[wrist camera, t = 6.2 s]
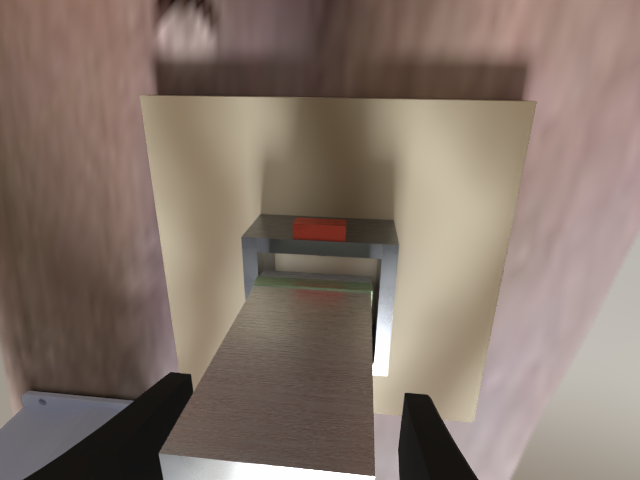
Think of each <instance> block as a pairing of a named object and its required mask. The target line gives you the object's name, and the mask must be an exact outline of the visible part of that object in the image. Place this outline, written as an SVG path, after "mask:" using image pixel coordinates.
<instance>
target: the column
mask: <svg viewBox="0 0 640 480" xmlns="http://www.w3.org/2000/svg"><path fill="white" fill-rule="evenodd" d="M372 292H373V288H372V283H371V276H355V275H338V274H321V273H304V272H287V271H270V270H263V271H262V273H261V275H260V276H257V278H256V280H255V281H254V283H253V289H252V290H251V292H250V294H249V296H248V297H247V299H246V301H245V303H244V304H243V306H242V308H241V310H240V311H239V313H238V315H237V317H236V319H235V320H234V322H233V324H232V326H231V327H230V329H229V331H228V333H227V334H226V336H225V338H224V340H223V341H222V343H221V345H220V347H219V348H218V350H217V352H216V354H215V355H214V357H213V359H212V361H211V362H210V364H209V366H208V368H207V369H206V371H205V373H204V375H203V376H202V378H201V380H200V382H199V383H198V385H197V387H196V389H195V390H194V392H193V394H192V396H191V397H190V399H189V401H188V403H187V404H186V406H185V408H184V410H183V411H182V413H181V415H180V417H179V418H178V420H177V422H176V424H175V425H174V427H173V429H172V431H171V432H170V434H169V436H168V438H167V440H166V441H165V443H164V445H163V447H162V448H161V450H160V452H159V459H160V464H161V469H162V475H163V480H375V457H374V410H373V363H372V316H371V307H372Z"/></svg>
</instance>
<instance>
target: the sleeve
mask: <svg viewBox="0 0 640 480" xmlns="http://www.w3.org/2000/svg"><path fill="white" fill-rule="evenodd" d="M241 242H242V258H243V273H244V289H245V301H246V299H247V297H248V296H249V294H250V292H251V290H252V289H253V283H254V281H255V280H256V278H257V276H260V275H261V273H262V271H263V270H270V271H275V253H280V254H299V255H317V256H335V257H353V258H372V259H377V274H376V288H375V302H374V316H373V324H372V363H373V375H377V376H387V375H388V364H389V353H390V342H391V331H392V320H393V309H394V298H395V287H396V276H397V265H398V254H399V241H398V237H397V232H396V227H395V222H394V220H383V219H361V218H338V217H316V216H294V215H272V214H260V215H259V217H258V218H257V219H256V220H255V221H254V222H253V224H252V225H251V226H250V227H249V228H248V230H247V231H246V232H245V233H244V234H243V235H242V237H241Z"/></svg>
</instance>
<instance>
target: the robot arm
mask: <svg viewBox="0 0 640 480" xmlns="http://www.w3.org/2000/svg"><path fill="white" fill-rule="evenodd" d="M192 394H193V385H192V377H191V374H186V373H174V372H170V373H169V374H168V375H166V376H165V377H164V378H162V379H161V380H160V381H158V382H157V383H156V384H155V385H153V386H152V387H151V388H150V389H148V390H147V391H146V392H145V393H143V394H142V395H141V396H140V397H138V398H137V399H136V400H135V401H132V400H121V399H111V398H100V397H90V396H79V395H69V394H59V393H48V392H38V391H27V392H25V393H24V394H23V395H22V397H21V401H22V404H23V407H24V408H22V409H21V410H20V411H19V412H18V413H17V414H16V415H15V416H14V417H13V418H12V419H11V420H9V421H8V422H7V423H6V424H5V425H4V426H3V427H2V428H1V429H0V480H163V475H162V469H161V464H160V459H159V452H160V450H161V448H162V447H163V445H164V443H165V441H166V440H167V438H168V436H169V434H170V432H171V431H172V429H173V427H174V425H175V424H176V422H177V420H178V418H179V417H180V415H181V413H182V411H183V410H184V408H185V406H186V404H187V403H188V401H189V399H190V397H191V396H192ZM398 454H399V476H400V480H478V478H477V477H476V475H475V474H474V472H473V471H472V469H471V468H470V466H469V464H468V463H467V461H466V460H465V458H464V456H463V455H462V453H461V452H460V450H459V448H458V447H457V445H456V443H455V442H454V440H453V438H452V436H451V435H450V433H449V431H448V429H447V428H446V426H445V424H444V422H443V420H442V418H441V417H440V415H439V413H438V411H437V409H436V407H435V405H434V403H433V401H432V399H431V397H430V396H429V395H427V394H415V393H405V394H404V403H403V412H402V421H401V430H400V439H399V448H398Z"/></svg>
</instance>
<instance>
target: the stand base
mask: <svg viewBox="0 0 640 480" xmlns="http://www.w3.org/2000/svg"><path fill="white" fill-rule="evenodd" d="M140 102H141V109H142V116H143V123H144V130H145V137H146V144H147V151H148V158H149V164H150V171H151V178H152V185H153V192H154V199H155V206H156V213H157V220H158V227H159V234H160V241H161V248H162V255H163V262H164V269H165V276H166V283H167V290H168V297H169V304H170V311H171V318H172V325H173V332H174V339H175V346H176V353H177V360H178V367H179V373H186V374H191V377H192V385H193V392H194V390H195V389H196V387H197V385H198V383H199V382H200V380H201V378H202V376H203V375H204V373H205V371H206V369H207V368H208V366H209V364H210V362H211V361H212V359H213V357H214V355H215V354H216V352H217V350H218V348H219V347H220V345H221V343H222V341H223V340H224V338H225V336H226V334H227V333H228V331H229V329H230V327H231V326H232V324H233V322H234V320H235V319H236V317H237V315H238V313H239V311H240V310H241V308H242V306H243V304H244V303H245V289H244V273H243V258H242V242H241V237H242V235H243V234H244V233H245V232H246V231H247V230H248V228H249V227H250V226H251V225H252V224H253V222H254V221H255V220H256V219H257V218H258V217H259V215H260V214H272V215H294V216H316V217H338V218H361V219H383V220H394V222H395V227H396V232H397V237H398V241H399V254H398V265H397V276H396V287H395V298H394V309H393V320H392V331H391V342H390V353H389V364H388V375H387V376H377V375H373V410H374V413H377V414H387V415H398V416H402V412H403V403H404V394H405V393H415V394H427V395H429V396H430V397H431V399H432V401H433V403H434V405H435V407H436V409H437V411H438V413H439V415H440V417H441V418H442V420H452V421H463V422H474V417H475V412H476V407H477V402H478V397H479V392H480V387H481V381H482V376H483V371H484V366H485V361H486V356H487V351H488V346H489V341H490V336H491V331H492V326H493V321H494V316H495V311H496V306H497V301H498V295H499V290H500V285H501V280H502V275H503V270H504V265H505V260H506V255H507V250H508V245H509V240H510V235H511V230H512V225H513V220H514V215H515V209H516V204H517V199H518V194H519V189H520V184H521V179H522V174H523V169H524V164H525V159H526V154H527V149H528V144H529V139H530V134H531V129H532V124H533V118H534V113H535V108H536V103H537V102H536V101H523V100H461V99H395V98H329V97H263V96H197V95H140ZM275 271H287V272H304V273H321V274H338V275H355V276H371V283H372V288H373V292H372V307H371V316H372V324H373V316H374V302H375V288H376V274H377V259H372V258H353V257H335V256H317V255H299V254H280V253H275Z"/></svg>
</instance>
